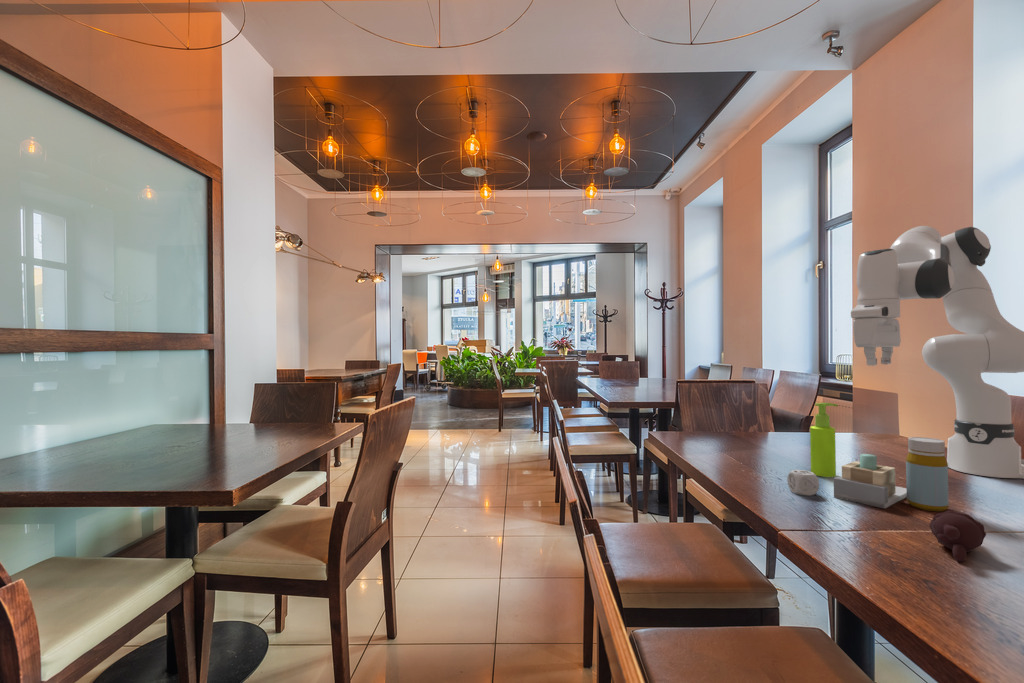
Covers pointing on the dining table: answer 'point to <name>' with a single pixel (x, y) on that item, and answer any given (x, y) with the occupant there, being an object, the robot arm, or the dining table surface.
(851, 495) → the grey l-shaped tray
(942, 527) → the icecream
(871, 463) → the dowel
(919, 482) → the bottle
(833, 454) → the soap dispenser
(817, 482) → the die
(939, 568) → the dining table surface
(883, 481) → the block
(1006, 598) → the dining table surface
